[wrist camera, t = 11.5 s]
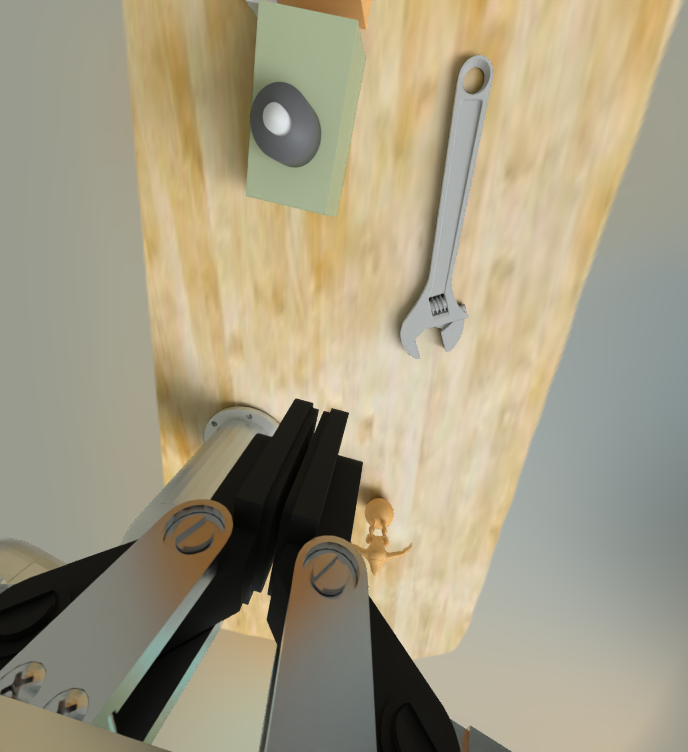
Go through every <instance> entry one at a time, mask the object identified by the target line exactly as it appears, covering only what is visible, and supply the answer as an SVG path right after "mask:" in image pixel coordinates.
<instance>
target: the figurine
mask: <svg viewBox="0 0 688 752" xmlns="http://www.w3.org/2000/svg"><path fill="white" fill-rule="evenodd" d="M365 517H366V520H367V522H368V523H369V524H370V525H371V526H370V527H369V532H370V534H368V535H367V538H366V542H367V543H368V544H370V543H371V544H370V546H369V547H368V548H367V549H363V548H361V547H359V546H357V545H354V544H352V542H350V543H351V544H352V545H353V546H354V547H355V548H356V549H357V550H358V551H359V552H360V554H361V555H362V556H364V557H365V558H366V559H367V560H368V561H369V564H370V567H371V571H372V573H373V575H377V574H378V573H379V570H380V568H381V566H382V564H383V563H384V562H386V561H388V560H391V559H393V558H398V557H401V556H403V555H405V554H406V553H407V552H408V551H409V550H410V549H411V546H412V543H411V544H410V546H409V547H407V548H405V549H404V550H402V551H398V552H392V553H388V552H386V550H385V548H384V546H388V544H389V541H388V538H387V536H386V534H387V528H386V527H388V526H389V525H390V524H391V522H392V520H393V517H394V512H393V508H392V506H391V504H390V503H389V502H388V501H387V500H385V499H382V498H375V499H373V500H371V501H370V502H369V503H368V504H367V506H366V509H365ZM375 528H376V529H382V534H383V536H380V537H379V536H375V535H373V532H374V529H375Z"/></svg>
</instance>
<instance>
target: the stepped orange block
mask: <svg viewBox="0 0 688 752" xmlns="http://www.w3.org/2000/svg"><path fill="white" fill-rule="evenodd" d="M277 1H278V3H279V4H283V5H287V6H292V7H297V8H302V9H307V10H312V11H316V12H321V13H326V14H331V15H336V16H341V17H345V18H350V19H355V20H358V23H359V28H362V29H366V27H367V22H368V16H369V11H370V5H371V0H277Z"/></svg>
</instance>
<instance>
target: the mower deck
mask: <svg viewBox="0 0 688 752" xmlns="http://www.w3.org/2000/svg"><path fill="white" fill-rule="evenodd" d="M245 1H246V2H247V4H248V5H249V7H250V8H251V10H252V11H253V13H254V14H255V16H256V17H257V18H258V19H257V34H256V49H255V65H254V80H253V95H252V108H251V114H250V124H251V125H250V140H249V155H248V170H247V186H246V196H248V197H252V198H256V199H260V200H264V201H268V202H273V203H277V204H281V205H285V206H289V207H293V208H298V209H302V210H306V211H310V212H314V213H318V214H323V215H328V216H334V217H337V214H338V208H339V203H340V197H341V192H342V186H343V181H344V175H345V170H346V164H347V159H348V153H349V148H350V142H351V137H352V131H353V126H354V120H355V115H356V109H357V104H358V98H359V93H360V87H361V82H362V76H363V71H364V65H365V60H366V57H365V52H364V47H363V43H362V38H361V33H360V28H359V23H358V20H355V19H350V18H345V17H341V16H336V15H331V14H326V13H321V12H316V11H312V10H307V9H302V8H297V7H292V6H287V5H283V4H279V3H278V1H277V0H245Z"/></svg>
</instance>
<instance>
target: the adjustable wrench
mask: <svg viewBox="0 0 688 752" xmlns="http://www.w3.org/2000/svg"><path fill="white" fill-rule="evenodd" d="M474 67H478V68H480V69H482V71H483V72H484V76H485V80H484V84H483V86H482V88H481V89H480V90H479V91H478V92H476V93H473V94H470V93H467V92H466V91H465V89H464V87H463V79H464V76H465V74H466V73H467V72H468V71H469V70H470V69H472V68H474ZM492 79H493V67H492V63H491V62H490V60H489V59H488V58H486V57H485V56H482V55H477V56H473V57H472V58H470V59H468V60H467V61H466V62H465V64H464V65H463V67H462V68H461V70H460V73H459V75H458V79H457V82H456V89H455V96H454V103H453V110H452V117H451V124H450V131H449V138H448V145H447V152H446V159H445V166H444V173H443V180H442V187H441V194H440V201H439V208H438V215H437V222H436V229H435V236H434V243H433V250H432V257H431V264H430V271H429V276H428V280H427V282H426V285H425V287H424V289H423V291H422V292H421V294H420V296H419V298H418V300H417V301H416V303H415V304H414V306H413V307H412V309H411V310H410V311H409V313H408V314H407V315H406V317H405V318H404V320H403V322H402V325H401V330H400V337H401V343H402V345H403V347H404V349H405V350H406V351H407V353H408V354H409V355H410V356H412V357H413V358H415V359H420V355H419V351H418V348H417V344H416V340H415V339H416V338H417V337H418V336H419V335H420V334H421V333H422V332H423V331H424V330H425V329H428V328H432V327H438V328H440V332H441V336H442V340H443V344H444V348H445V351H446V352H449V351H451V350H452V349H453V348H454V347H455V345H456V344H457V342H458V341H459V339H460V337H461V334H462V330H463V326H464V318H467V317H469V316H468V314H467V313H466V307H465V304H463V305H461V306H458V304H457V301H456V299H455V297H454V295H453V291H452V275H453V270H454V265H455V260H456V255H457V250H458V245H459V240H460V235H461V230H462V226H463V221H464V216H465V211H466V206H467V201H468V196H469V191H470V186H471V181H472V177H473V172H474V167H475V162H476V157H477V152H478V147H479V142H480V137H481V132H482V128H483V123H484V118H485V113H486V108H487V103H488V98H489V93H490V88H491V83H492ZM440 294H444V297H441V295H440ZM436 295H439V299H438V298H437V296H436ZM433 296H436V297H435V300H434V299H433ZM430 297H432V298H431V301H429V298H430ZM446 308H447V309H446ZM442 309H444V310H442ZM438 310H440V311H438ZM434 311H436V312H434ZM432 312H433V313H432Z"/></svg>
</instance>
